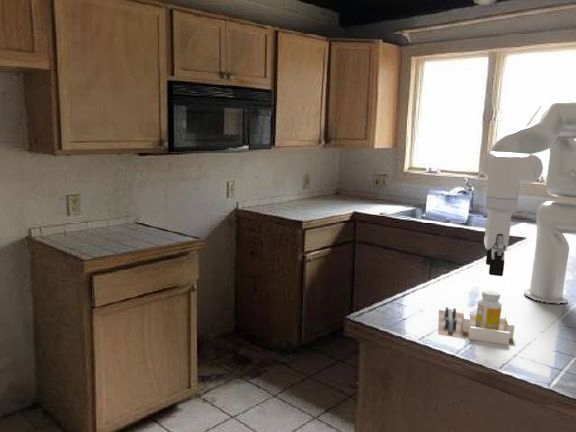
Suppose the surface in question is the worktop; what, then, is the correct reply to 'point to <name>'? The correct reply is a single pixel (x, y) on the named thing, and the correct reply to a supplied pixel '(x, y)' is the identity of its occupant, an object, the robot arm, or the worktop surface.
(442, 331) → the board
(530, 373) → the worktop surface
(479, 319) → the supplement bottle
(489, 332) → the holder
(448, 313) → the cable run
